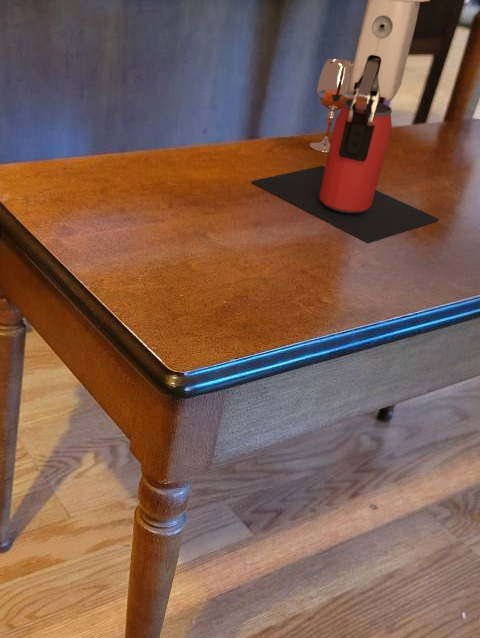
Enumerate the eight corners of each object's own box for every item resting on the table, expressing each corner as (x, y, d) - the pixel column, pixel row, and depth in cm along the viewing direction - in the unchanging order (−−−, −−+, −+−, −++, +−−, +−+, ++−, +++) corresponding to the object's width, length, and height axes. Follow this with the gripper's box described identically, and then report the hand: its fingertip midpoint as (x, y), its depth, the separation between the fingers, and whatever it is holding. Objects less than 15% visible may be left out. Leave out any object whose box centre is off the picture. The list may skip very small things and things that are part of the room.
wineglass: (318, 155, 110) (337, 68, 102) (298, 141, 114) (314, 58, 106) (350, 153, 112) (370, 68, 104) (329, 140, 116) (347, 57, 108)
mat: (438, 221, 94) (439, 218, 94) (367, 243, 86) (368, 240, 86) (322, 167, 105) (322, 165, 105) (251, 183, 98) (251, 180, 98)
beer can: (322, 213, 90) (345, 111, 83) (314, 192, 95) (334, 95, 88) (375, 217, 90) (403, 116, 83) (364, 196, 96) (389, 100, 88)
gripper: (425, -5, 70) (377, 178, 81) (441, -24, 84) (398, 136, 94) (348, -17, 72) (311, 164, 83) (375, -34, 85) (340, 124, 96)
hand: (357, 148), depth 89 cm, fingers closed on beer can, 6 cm apart
